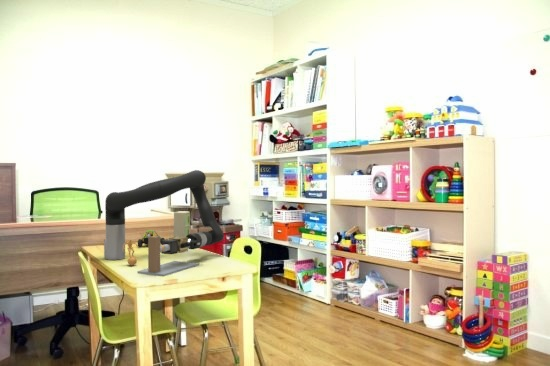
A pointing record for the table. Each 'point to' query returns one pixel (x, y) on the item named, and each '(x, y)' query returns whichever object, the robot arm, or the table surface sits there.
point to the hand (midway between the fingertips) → (175, 245)
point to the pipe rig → (154, 260)
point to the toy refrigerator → (181, 223)
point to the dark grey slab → (172, 246)
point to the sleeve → (180, 241)
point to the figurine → (132, 260)
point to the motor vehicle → (145, 239)
